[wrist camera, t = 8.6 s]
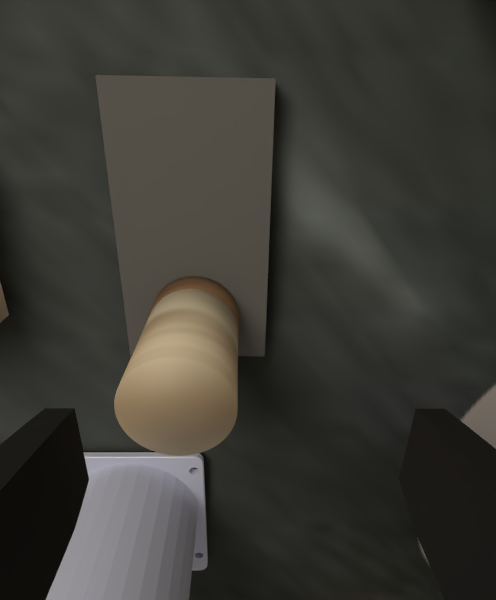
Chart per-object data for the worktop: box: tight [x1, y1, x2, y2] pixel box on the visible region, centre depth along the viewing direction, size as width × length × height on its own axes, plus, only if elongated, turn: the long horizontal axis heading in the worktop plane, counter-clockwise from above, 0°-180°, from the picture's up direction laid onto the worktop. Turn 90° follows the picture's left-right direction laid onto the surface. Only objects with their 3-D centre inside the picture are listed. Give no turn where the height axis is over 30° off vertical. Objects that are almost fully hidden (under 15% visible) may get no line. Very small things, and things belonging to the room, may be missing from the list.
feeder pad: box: [95, 75, 276, 356], centre depth 16 cm, size 11×6×1 cm, turn 179°
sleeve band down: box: [114, 276, 239, 456], centre depth 15 cm, size 4×4×6 cm
